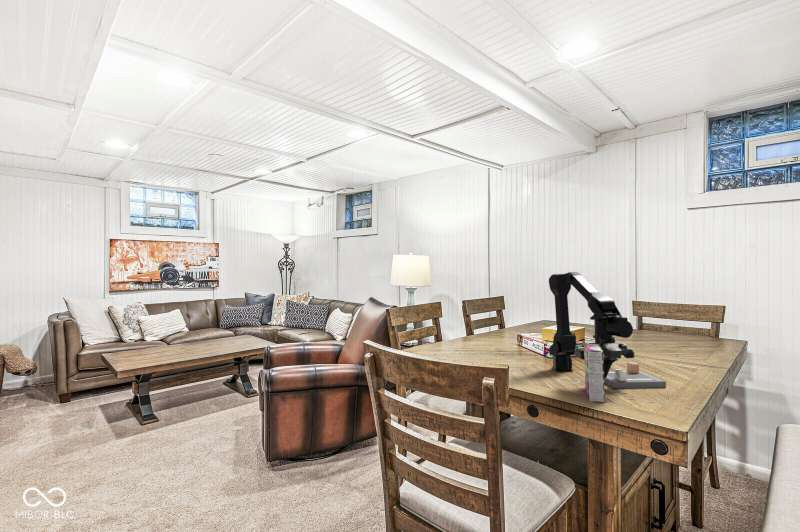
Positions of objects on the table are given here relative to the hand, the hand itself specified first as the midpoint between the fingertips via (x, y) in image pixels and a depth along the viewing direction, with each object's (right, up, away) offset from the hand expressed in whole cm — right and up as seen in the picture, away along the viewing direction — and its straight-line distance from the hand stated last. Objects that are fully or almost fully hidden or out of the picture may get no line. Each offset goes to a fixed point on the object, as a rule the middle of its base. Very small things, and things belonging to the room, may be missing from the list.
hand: (604, 377), depth 142 cm
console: (+11, -3, +5) cm, 12 cm away
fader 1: (+6, -1, 0) cm, 6 cm away
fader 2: (+16, 0, +10) cm, 19 cm away
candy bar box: (-9, -3, -12) cm, 16 cm away
